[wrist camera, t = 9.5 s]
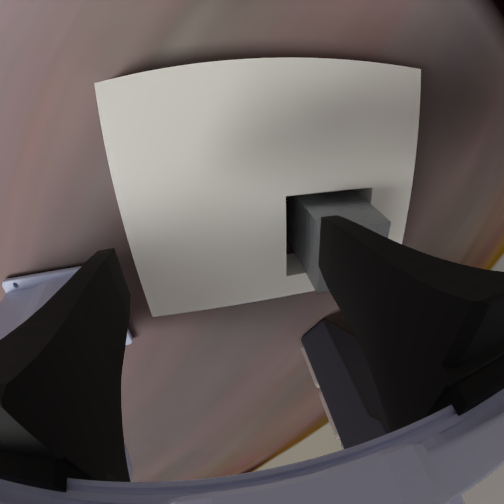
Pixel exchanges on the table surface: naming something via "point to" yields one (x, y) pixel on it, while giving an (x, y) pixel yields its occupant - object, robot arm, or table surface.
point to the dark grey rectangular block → (344, 384)
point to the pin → (309, 222)
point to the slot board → (249, 166)
